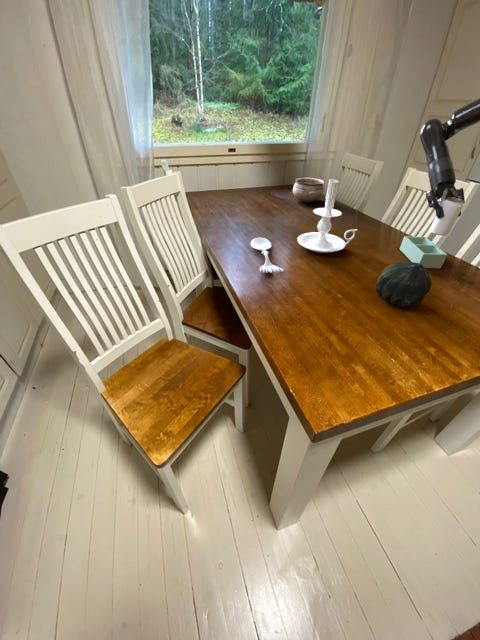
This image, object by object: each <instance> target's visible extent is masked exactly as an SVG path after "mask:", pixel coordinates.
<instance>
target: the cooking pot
mask: <svg viewBox="0 0 480 640" xmlns="http://www.w3.org/2000/svg"><path fill="white" fill-rule="evenodd" d="M324 183H325V181H324V180H323V179H320V178H315V177H298V178H295V183H294V184H293V188H292V193H293V197H295V198H296V199H297V201H298V200H299V202H301V203H303V204H311V203H313V202H315V201H317V200H319V199H321V198H322V196H323V194H324Z"/></svg>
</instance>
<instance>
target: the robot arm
mask: <svg viewBox="0 0 480 640" xmlns="http://www.w3.org/2000/svg"><path fill="white" fill-rule="evenodd" d="M478 123H480V97H478V98H476V99H475V100H473V101H471V102H469V103H467V104H465V105H463V106H461V107H460V108H457V109H456V110H455V111H454V112H453V113H452V115H451V118H449V119H448V120H447V121H445V122H443V121H442V120H440V119H439V118H430V119H429V120H427V121H426V122H425V123H423V125H422V126H421V128H420V131H419V138H420V142H421V145H422V148H423V151H424V153H425V161H426V166H427V175H428V180H429V186H430V190H428V191H427V192H426V193H425V197H426V200H427V204H428V207H429V208H430V209H432V208H433V209H434V211H435V217H436V216H437V218H438V219H440V218H442V217H444V211H443V206H442V204H443V202H444V201H445V200H446V198H449V197H450V198H458V199H461V200H464V202H463V205H464V204H465V203H466V200H465V199H466V198H465V191H464V188H463V187H461V188H459V189H457V188H456V186H455V184H456V183H457V178H456V173H455V168H454V167H455V166H454V163H453V160H452V157H451V152H450V148H449V145H448V144H447V142H446V141H448V140H450V139H451V138H453V137H454V136H456V135H457V134H458V133H460V132H461V131H463V130H465V129H468V128H470V127H472V126H474V125H477V124H478ZM461 215H462V210H461V211H460V213H459V215H458V217H457V218H460V217H461Z"/></svg>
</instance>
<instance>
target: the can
mask: <svg viewBox="0 0 480 640" xmlns="http://www.w3.org/2000/svg"><path fill="white" fill-rule="evenodd" d="M463 202H464V200H461V199H458V198H454V197H453V198H450V197H449V198H446V200H445V201H443V204H442V206H443V211H444V217H442V218H440V219H438V218H437V216H436V215H435V217H434V219H433V222H432V223H431V226H430V228H429V232H430V233H431V234H434V235H436V236H447V235H449V234H450V232H451V230H452V228H453V226H454V224H455V223H456V221H457V219H458V218H459V217H458V215H459V213H460V211H461V212H462V210H463V208H464V204H463Z"/></svg>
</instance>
